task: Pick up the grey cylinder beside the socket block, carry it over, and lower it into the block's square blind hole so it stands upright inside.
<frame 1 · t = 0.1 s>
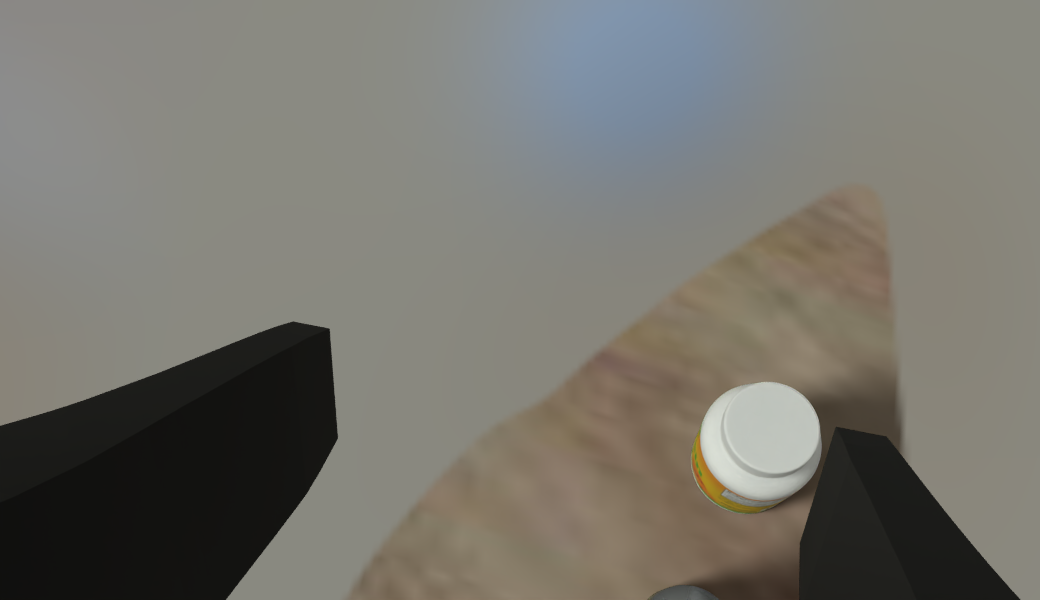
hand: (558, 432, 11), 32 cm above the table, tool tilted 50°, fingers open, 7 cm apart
supplement bottle: (740, 464, 41), on the table
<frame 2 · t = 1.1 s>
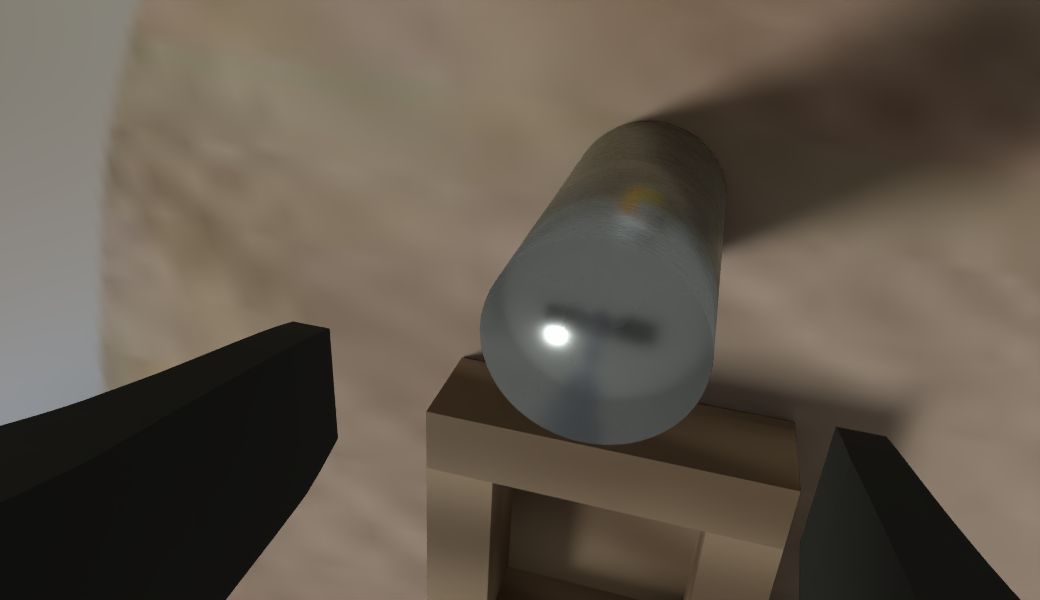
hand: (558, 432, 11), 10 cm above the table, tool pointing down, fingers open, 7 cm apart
grey cylinder: (647, 197, 20), on the table
socket block: (603, 514, 25), on the table
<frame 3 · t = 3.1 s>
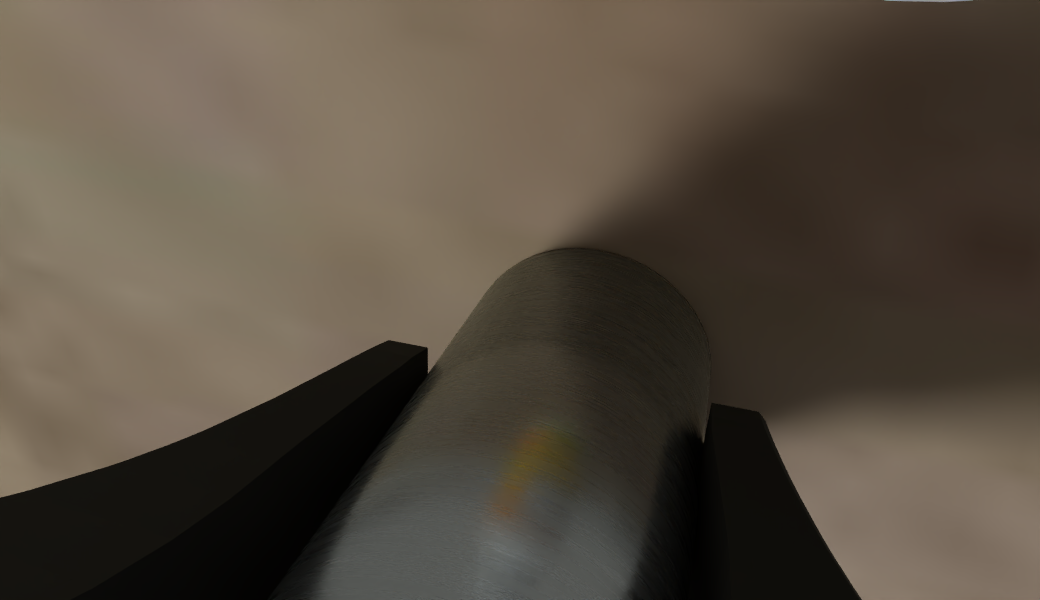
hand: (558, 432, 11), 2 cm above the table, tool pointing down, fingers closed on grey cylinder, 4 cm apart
grey cylinder: (586, 360, 12), on the table, touching gripper
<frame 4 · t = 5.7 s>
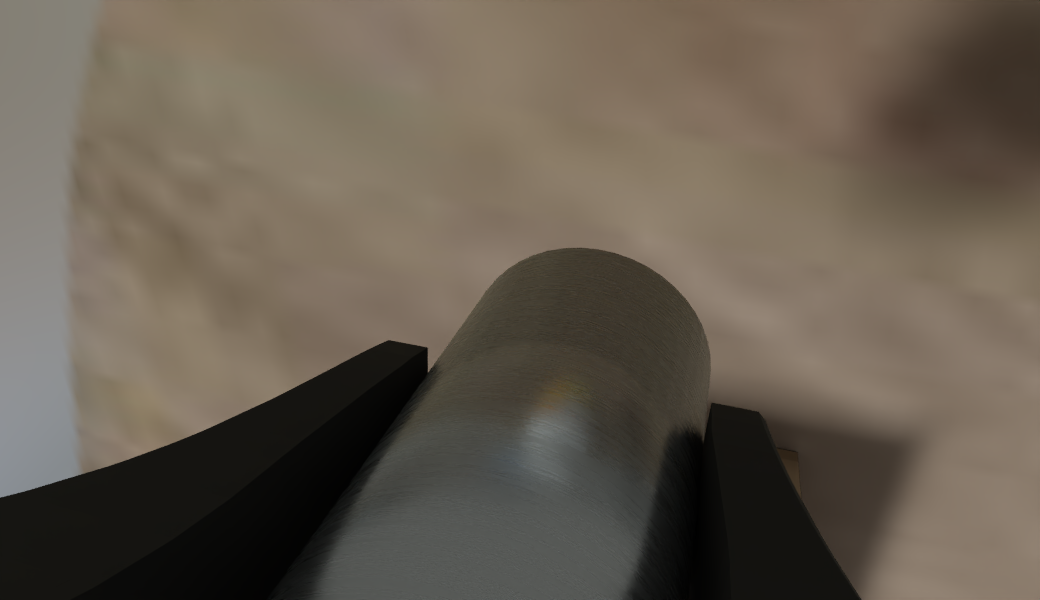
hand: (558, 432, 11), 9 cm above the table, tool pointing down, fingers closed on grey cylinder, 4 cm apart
grey cylinder: (586, 360, 12), point 7 cm above the table, touching gripper
socket block: (595, 544, 23), on the table
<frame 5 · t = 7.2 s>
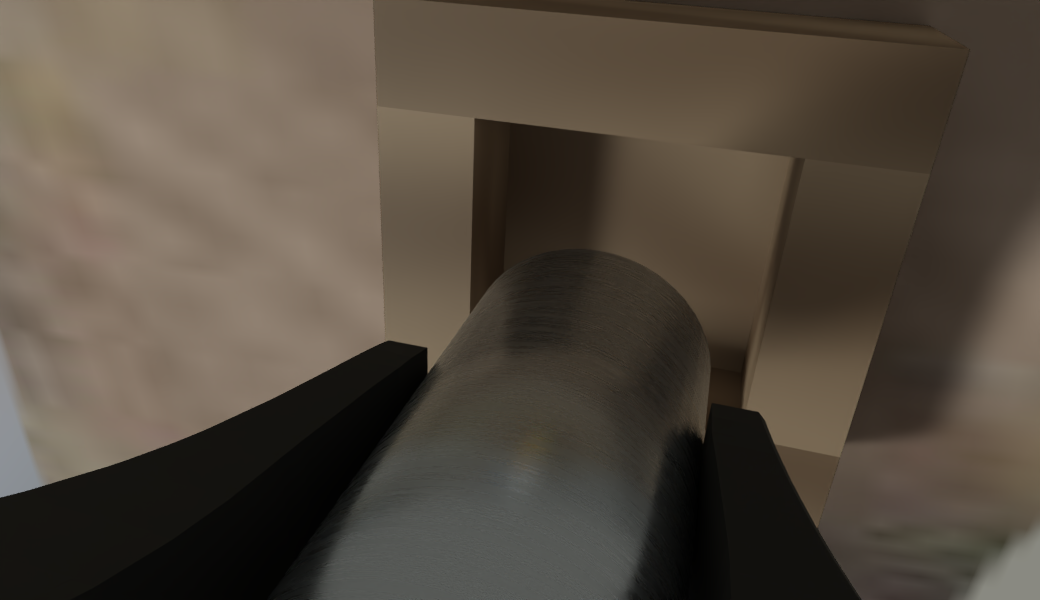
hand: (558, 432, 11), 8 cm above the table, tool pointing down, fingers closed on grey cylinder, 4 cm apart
grey cylinder: (585, 361, 12), point 6 cm above the table, touching gripper
socket block: (633, 231, 18), on the table
when the fingers open (4 cm above the table, at t = 8.5 s): grey cylinder drops 1 cm, resting on socket block.
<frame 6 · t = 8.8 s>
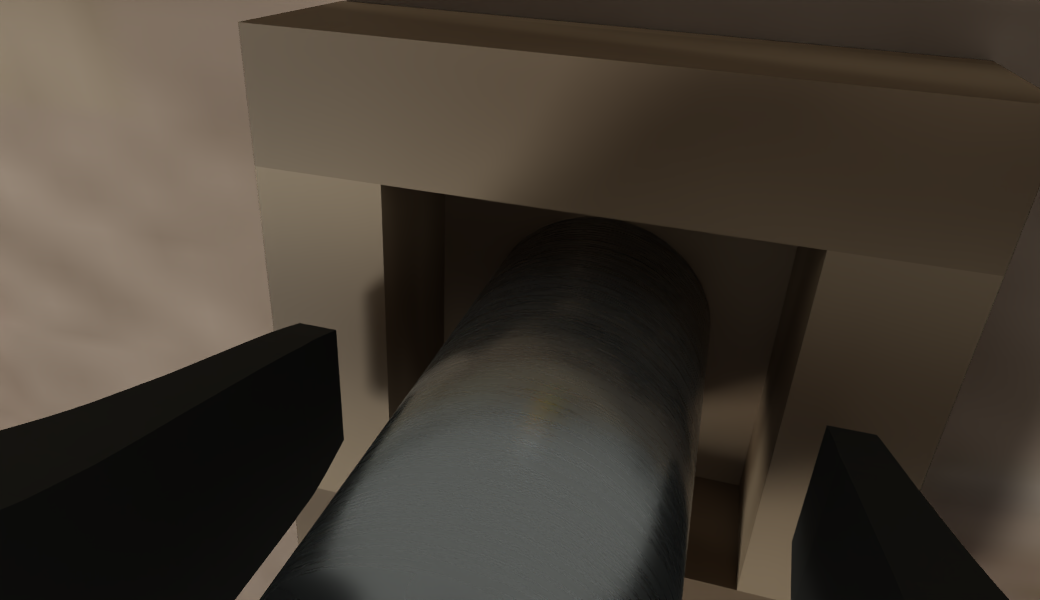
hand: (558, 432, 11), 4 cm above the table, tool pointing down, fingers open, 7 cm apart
grey cylinder: (596, 321, 14), resting on socket block
socket block: (604, 311, 14), on the table
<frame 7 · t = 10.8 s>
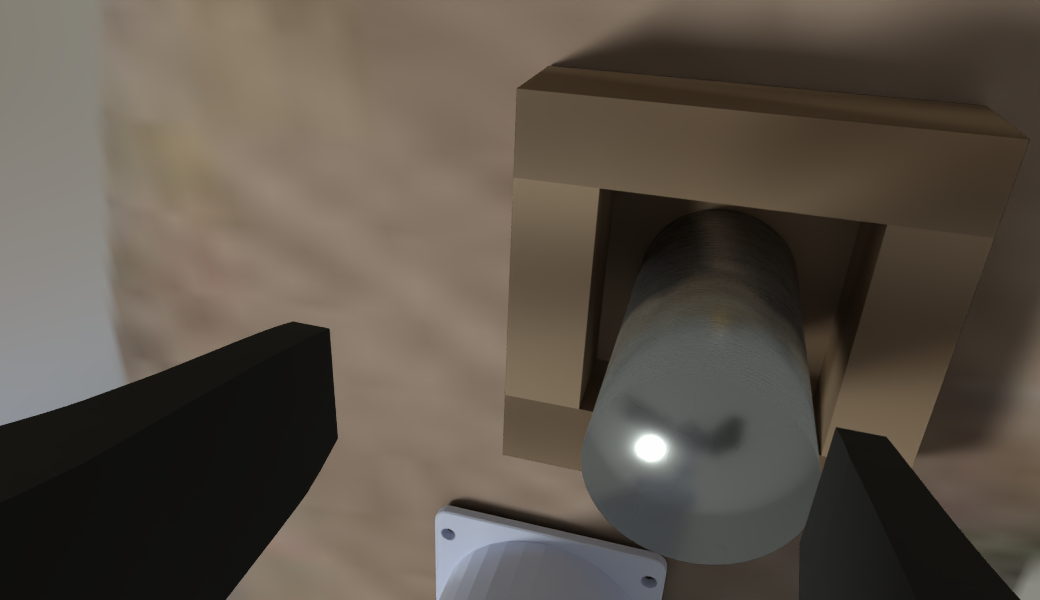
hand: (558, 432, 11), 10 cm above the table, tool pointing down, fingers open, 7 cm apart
grey cylinder: (716, 281, 20), resting on socket block
socket block: (719, 275, 20), on the table
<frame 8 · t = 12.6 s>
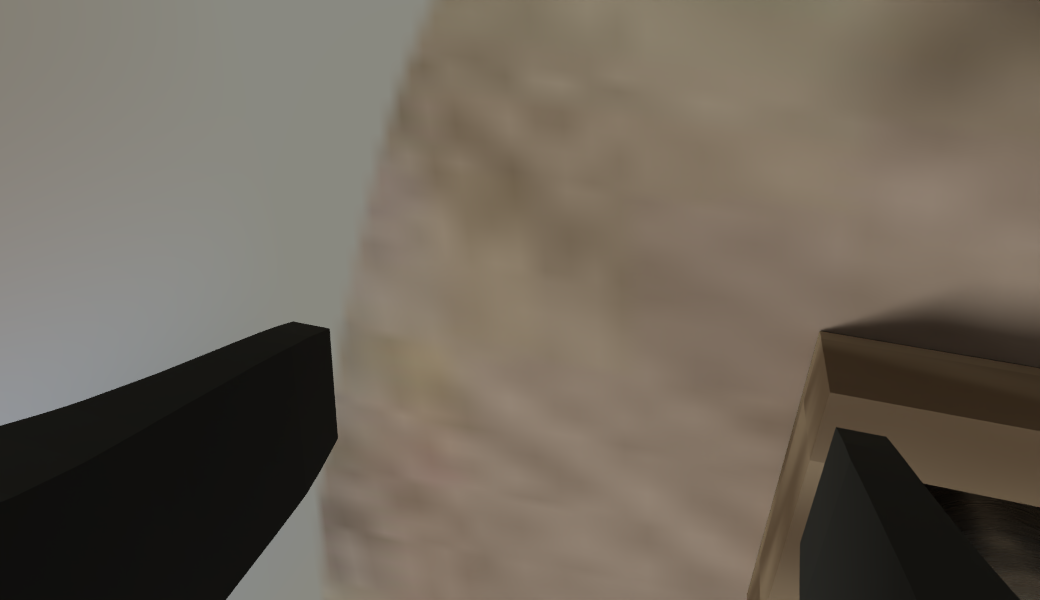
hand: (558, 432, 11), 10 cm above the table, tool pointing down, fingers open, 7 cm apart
grey cylinder: (963, 525, 21), resting on socket block
socket block: (962, 515, 21), on the table
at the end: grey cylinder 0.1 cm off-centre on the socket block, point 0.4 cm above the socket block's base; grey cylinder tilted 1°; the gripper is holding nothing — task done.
